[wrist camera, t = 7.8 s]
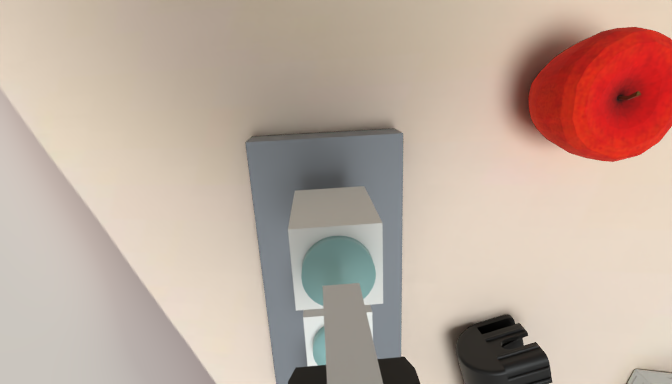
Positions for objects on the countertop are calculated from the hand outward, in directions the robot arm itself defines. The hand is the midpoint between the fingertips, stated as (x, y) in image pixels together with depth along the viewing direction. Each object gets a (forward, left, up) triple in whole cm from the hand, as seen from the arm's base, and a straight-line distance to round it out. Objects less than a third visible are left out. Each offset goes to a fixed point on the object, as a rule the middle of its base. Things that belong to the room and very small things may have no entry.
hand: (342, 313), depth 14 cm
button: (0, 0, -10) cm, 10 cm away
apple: (-7, +20, -18) cm, 28 cm away
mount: (+8, 0, -17) cm, 19 cm away
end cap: (+20, +16, -18) cm, 31 cm away
